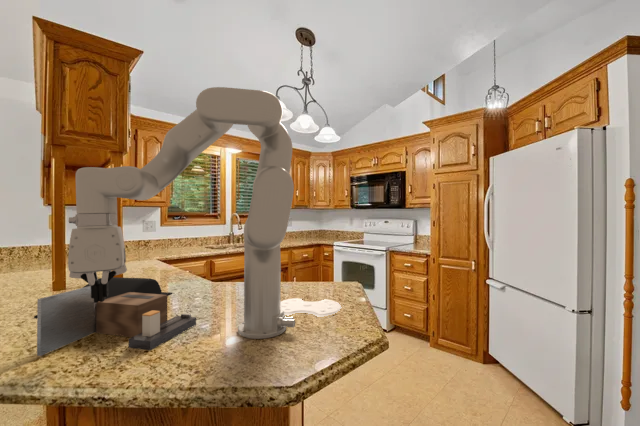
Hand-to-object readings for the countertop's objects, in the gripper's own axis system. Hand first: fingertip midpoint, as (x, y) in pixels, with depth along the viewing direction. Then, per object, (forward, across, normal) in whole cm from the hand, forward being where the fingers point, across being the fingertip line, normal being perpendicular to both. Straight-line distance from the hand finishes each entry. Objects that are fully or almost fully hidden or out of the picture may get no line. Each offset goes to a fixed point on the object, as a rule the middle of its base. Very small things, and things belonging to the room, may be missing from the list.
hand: (100, 300), depth 68 cm
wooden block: (+11, +5, +10) cm, 15 cm away
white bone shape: (+13, +54, +7) cm, 56 cm away
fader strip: (+11, +13, +1) cm, 17 cm away
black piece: (+11, -5, +38) cm, 40 cm away
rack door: (+10, -7, +5) cm, 13 cm away
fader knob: (+9, +10, -2) cm, 14 cm away
